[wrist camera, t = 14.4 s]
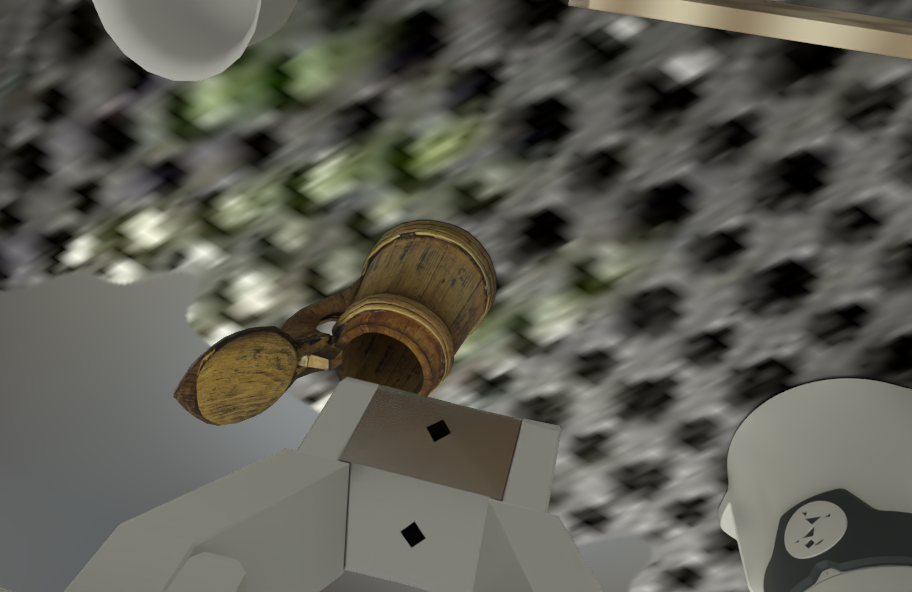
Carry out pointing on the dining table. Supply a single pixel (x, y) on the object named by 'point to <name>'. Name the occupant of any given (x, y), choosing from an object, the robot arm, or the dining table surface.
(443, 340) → the wooden mug
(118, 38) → the chalice
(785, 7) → the box
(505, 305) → the dining table surface
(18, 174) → the dining table surface
